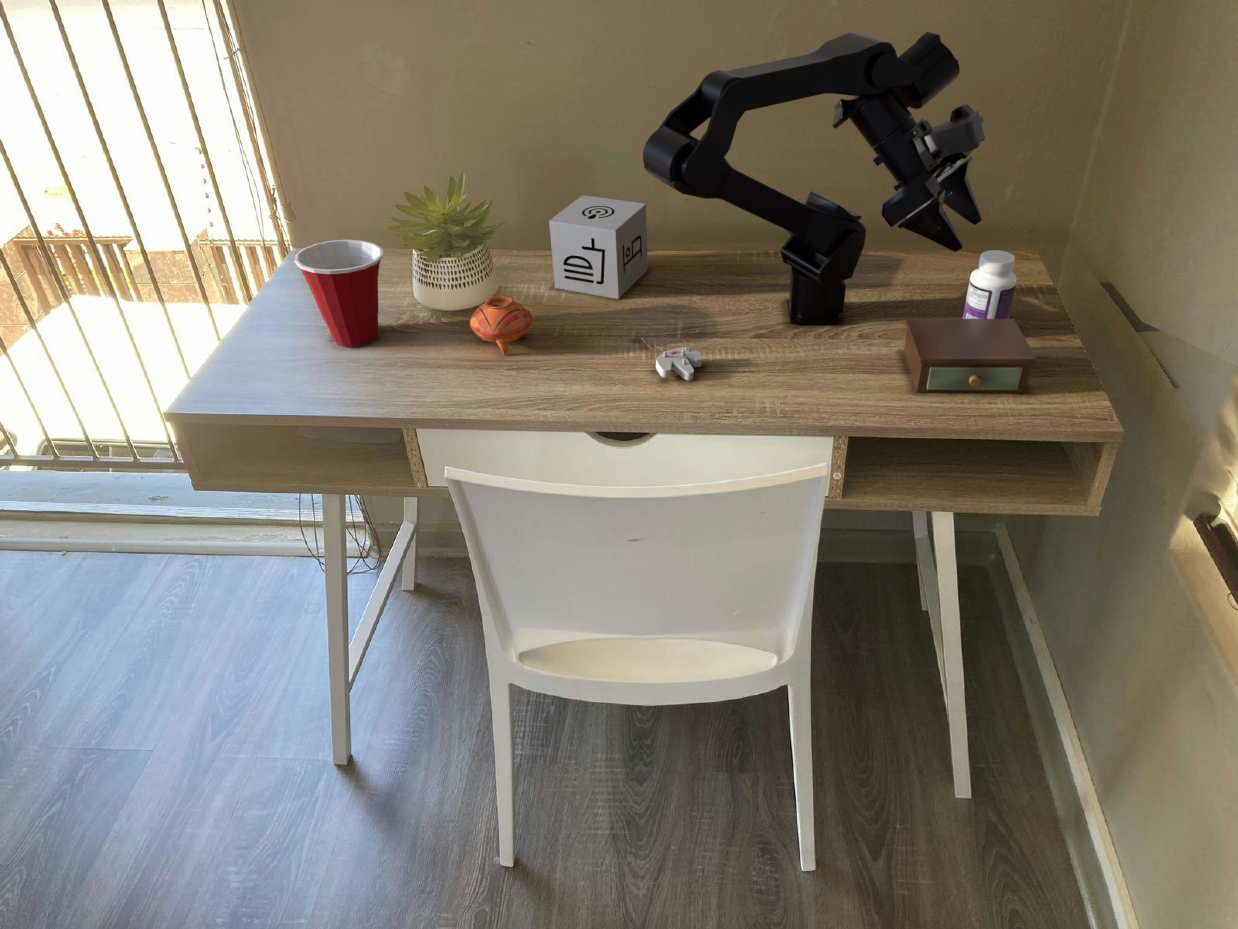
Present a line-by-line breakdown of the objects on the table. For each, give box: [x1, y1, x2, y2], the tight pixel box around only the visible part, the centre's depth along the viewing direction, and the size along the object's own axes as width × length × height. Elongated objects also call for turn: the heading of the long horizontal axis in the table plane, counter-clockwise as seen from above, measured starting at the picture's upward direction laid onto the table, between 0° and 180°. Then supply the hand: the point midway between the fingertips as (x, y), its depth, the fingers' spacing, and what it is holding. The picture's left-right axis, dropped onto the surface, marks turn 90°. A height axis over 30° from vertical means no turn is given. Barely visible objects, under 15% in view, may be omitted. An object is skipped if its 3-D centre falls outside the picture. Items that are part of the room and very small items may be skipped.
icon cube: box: [548, 194, 649, 300], centre depth 133 cm, size 10×10×10 cm
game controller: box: [637, 337, 704, 381], centre depth 115 cm, size 6×12×3 cm, turn 49°
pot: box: [469, 295, 534, 356], centre depth 120 cm, size 8×8×7 cm
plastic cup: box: [294, 239, 384, 348], centre depth 121 cm, size 11×11×12 cm
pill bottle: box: [962, 249, 1018, 319], centre depth 117 cm, size 5×5×10 cm
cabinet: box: [903, 318, 1037, 394], centre depth 110 cm, size 13×10×5 cm
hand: (969, 235), depth 115 cm, fingers open, 9 cm apart
